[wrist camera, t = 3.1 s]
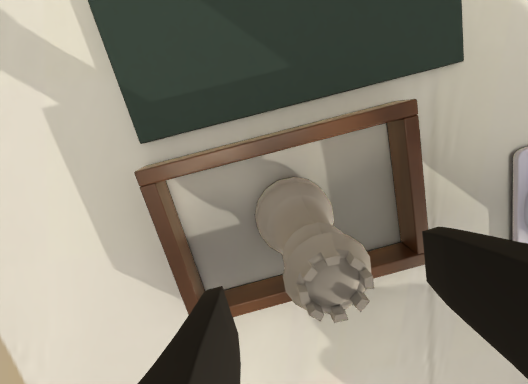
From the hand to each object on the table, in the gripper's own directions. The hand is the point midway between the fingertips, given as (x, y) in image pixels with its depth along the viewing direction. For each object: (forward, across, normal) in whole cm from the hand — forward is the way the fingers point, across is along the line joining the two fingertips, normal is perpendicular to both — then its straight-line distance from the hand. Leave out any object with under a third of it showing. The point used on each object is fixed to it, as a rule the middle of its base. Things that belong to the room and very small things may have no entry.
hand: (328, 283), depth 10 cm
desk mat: (+8, -2, -10) cm, 12 cm away
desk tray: (+8, 0, 0) cm, 8 cm away
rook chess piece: (+8, 0, 0) cm, 8 cm away
